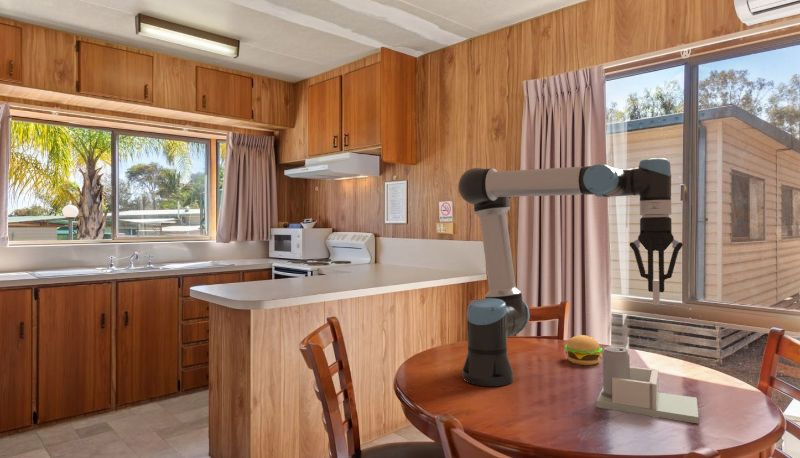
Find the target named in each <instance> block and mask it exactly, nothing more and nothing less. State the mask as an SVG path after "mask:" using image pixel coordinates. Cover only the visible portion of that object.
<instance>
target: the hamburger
mask: <svg viewBox="0 0 800 458" xmlns="http://www.w3.org/2000/svg"><path fill="white" fill-rule="evenodd" d="M564 349H565V353H566V355H567V359H568V361H569V362H570V363H573V364H576V365H581V366H594V365H596V364H598V363H600V358H603V353H602V351H603V348H602V346H601V347H600V344H599V341H598V340H596V339H595V338H594V337H591V336H589V335H586V334H585V335H584V334H579V335H575V336H572V337H571V338H569V340H568V341H567V344H565V345H564Z"/></svg>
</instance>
